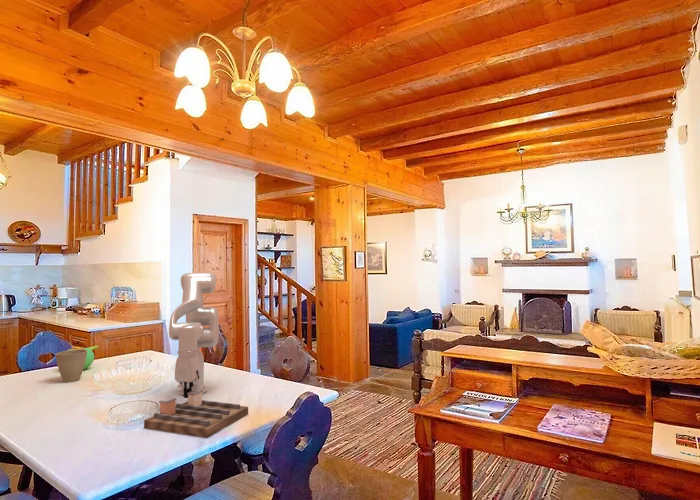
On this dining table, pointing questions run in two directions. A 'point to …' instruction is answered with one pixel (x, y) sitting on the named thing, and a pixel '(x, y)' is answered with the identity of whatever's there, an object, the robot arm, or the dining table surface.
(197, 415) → the board
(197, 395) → the fader cream
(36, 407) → the dining table surface
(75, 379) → the plant pot
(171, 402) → the block
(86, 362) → the toy bird
